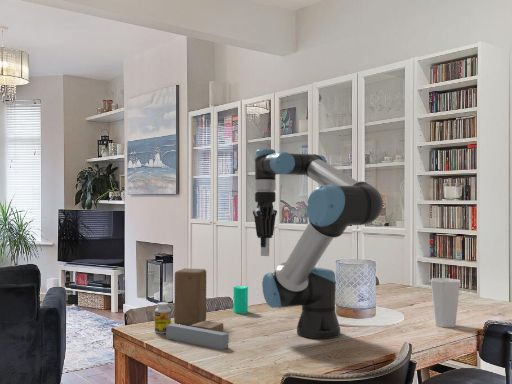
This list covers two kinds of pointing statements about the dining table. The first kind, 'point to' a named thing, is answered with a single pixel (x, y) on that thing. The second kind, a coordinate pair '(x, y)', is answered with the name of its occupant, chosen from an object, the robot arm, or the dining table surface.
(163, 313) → the supplement bottle
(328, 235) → the robot arm
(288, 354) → the dining table surface
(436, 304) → the cup
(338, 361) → the dining table surface
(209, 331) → the board
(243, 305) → the candle
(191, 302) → the wooden block
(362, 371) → the dining table surface
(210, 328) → the walnut block
